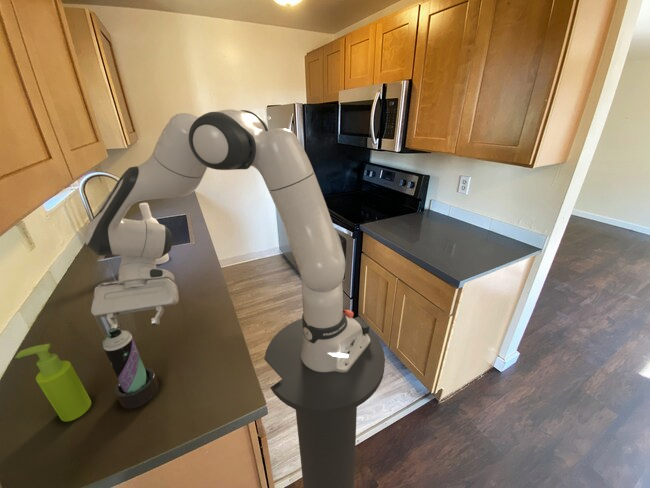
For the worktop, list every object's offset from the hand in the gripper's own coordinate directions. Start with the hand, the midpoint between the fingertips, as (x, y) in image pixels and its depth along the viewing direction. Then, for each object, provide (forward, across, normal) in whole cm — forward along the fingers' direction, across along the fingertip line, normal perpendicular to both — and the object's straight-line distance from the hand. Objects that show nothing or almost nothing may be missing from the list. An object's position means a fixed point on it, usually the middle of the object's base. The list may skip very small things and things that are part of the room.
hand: (135, 328), depth 73 cm
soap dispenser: (+17, -14, +3) cm, 22 cm away
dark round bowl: (+16, 0, +4) cm, 16 cm away
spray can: (+16, 0, +3) cm, 16 cm away
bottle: (-42, -16, +62) cm, 76 cm away
